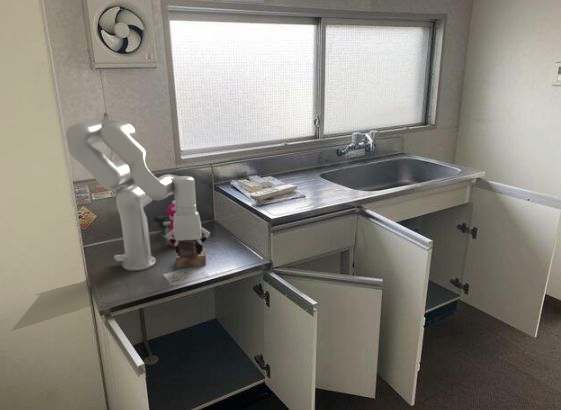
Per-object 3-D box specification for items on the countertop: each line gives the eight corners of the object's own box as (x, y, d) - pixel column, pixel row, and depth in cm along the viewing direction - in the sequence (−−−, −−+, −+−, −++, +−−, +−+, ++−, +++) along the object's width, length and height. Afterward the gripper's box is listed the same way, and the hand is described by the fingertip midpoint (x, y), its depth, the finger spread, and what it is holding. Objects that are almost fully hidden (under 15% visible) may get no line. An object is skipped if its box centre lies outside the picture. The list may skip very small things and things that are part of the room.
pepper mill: (188, 241, 198) (185, 198, 192) (182, 247, 191) (178, 203, 185) (172, 240, 199) (169, 198, 193) (166, 247, 192) (162, 202, 186)
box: (194, 259, 167) (192, 241, 164) (179, 258, 168) (177, 240, 166) (200, 253, 172) (198, 235, 170) (185, 252, 173) (184, 234, 171)
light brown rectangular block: (176, 267, 172) (176, 257, 171) (178, 259, 179) (177, 250, 178) (205, 265, 173) (204, 255, 172) (206, 258, 180) (205, 248, 179)
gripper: (160, 214, 160) (165, 259, 165) (209, 211, 162) (212, 256, 167) (163, 207, 167) (167, 251, 172) (210, 205, 169) (212, 248, 174)
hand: (189, 253), depth 170 cm, fingers closed on box, 7 cm apart
